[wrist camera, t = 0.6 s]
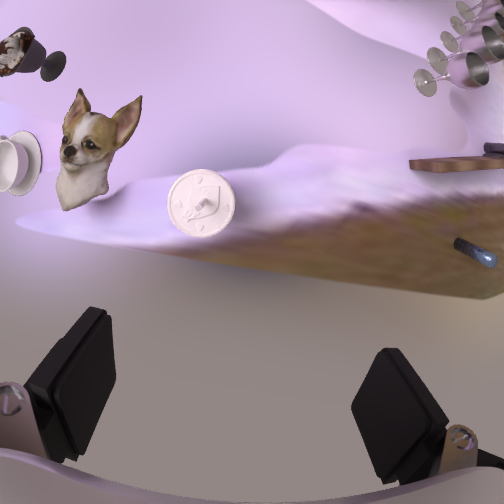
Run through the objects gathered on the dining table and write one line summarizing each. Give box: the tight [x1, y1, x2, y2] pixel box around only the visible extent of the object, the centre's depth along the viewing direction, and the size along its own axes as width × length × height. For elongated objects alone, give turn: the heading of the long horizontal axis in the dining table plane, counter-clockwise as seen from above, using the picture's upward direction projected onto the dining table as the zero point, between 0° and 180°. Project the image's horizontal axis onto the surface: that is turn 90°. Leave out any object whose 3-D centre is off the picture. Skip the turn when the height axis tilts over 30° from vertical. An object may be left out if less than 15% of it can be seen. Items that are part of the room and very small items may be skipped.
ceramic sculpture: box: [56, 88, 142, 211], centre depth 29 cm, size 11×9×15 cm
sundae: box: [0, 27, 66, 82], centre depth 21 cm, size 7×7×15 cm
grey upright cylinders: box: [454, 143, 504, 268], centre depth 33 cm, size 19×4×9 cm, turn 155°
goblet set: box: [414, 0, 504, 97], centre depth 23 cm, size 28×6×13 cm, turn 146°
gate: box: [409, 154, 504, 173], centre depth 31 cm, size 18×2×8 cm, turn 100°
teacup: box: [0, 131, 41, 196], centre depth 30 cm, size 10×10×5 cm
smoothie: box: [167, 169, 236, 238], centre depth 29 cm, size 6×6×14 cm
